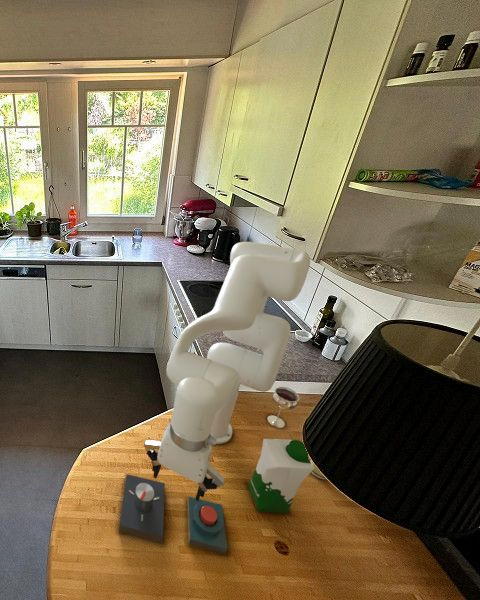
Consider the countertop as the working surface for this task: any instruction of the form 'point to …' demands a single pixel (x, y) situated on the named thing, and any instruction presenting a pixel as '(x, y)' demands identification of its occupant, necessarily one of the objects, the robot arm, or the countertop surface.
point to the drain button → (208, 515)
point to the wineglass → (283, 404)
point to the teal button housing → (206, 527)
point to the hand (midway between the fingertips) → (177, 483)
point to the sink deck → (138, 521)
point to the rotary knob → (144, 497)
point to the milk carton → (279, 474)
